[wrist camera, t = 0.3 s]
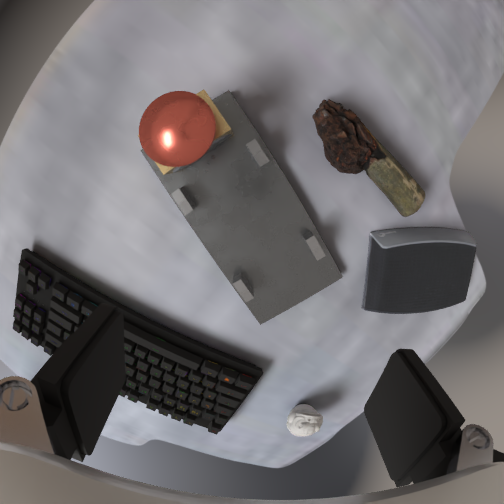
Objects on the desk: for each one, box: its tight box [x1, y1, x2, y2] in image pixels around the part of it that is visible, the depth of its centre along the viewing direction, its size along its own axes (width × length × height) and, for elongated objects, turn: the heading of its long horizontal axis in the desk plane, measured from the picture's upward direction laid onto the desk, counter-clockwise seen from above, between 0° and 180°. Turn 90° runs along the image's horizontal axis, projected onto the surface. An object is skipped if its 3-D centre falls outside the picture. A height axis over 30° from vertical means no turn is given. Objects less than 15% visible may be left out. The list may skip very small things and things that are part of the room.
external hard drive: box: [362, 227, 477, 314], centre depth 39 cm, size 13×19×4 cm
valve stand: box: [138, 90, 342, 325], centre depth 32 cm, size 13×29×11 cm, turn 32°
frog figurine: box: [287, 404, 323, 437], centre depth 44 cm, size 6×7×7 cm
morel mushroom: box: [313, 99, 425, 217], centre depth 33 cm, size 18×7×6 cm, turn 50°
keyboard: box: [13, 249, 263, 434], centre depth 41 cm, size 42×16×5 cm, turn 62°
